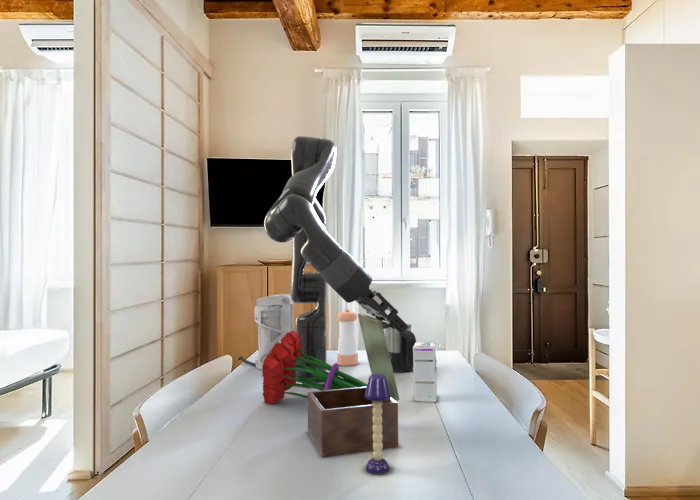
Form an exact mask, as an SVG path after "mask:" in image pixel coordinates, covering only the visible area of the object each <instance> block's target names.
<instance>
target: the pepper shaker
mask: <svg viewBox="0 0 700 500" xmlns="http://www.w3.org/2000/svg"><path fill="white" fill-rule="evenodd" d="M336 317H337V318H336V319H337V320H338V321H339V336H338V342H337V349H338V352H337V354H336V355H337V356H336V357H337V364H338V365H339V366H344V367H347V366H348V367H350V366H356V365H358V364H359V354H358V352H357V351H358V350H357V349H358V343H357V337H356V336H357V335H356V321H357V319H358V314H357V313H356V312H354V311H350V309H349V308H346V309H345V310H344V311H340V312H339V313H338V314H337V316H336Z"/></svg>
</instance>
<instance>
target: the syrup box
mask: <svg viewBox="0 0 700 500" xmlns="http://www.w3.org/2000/svg"><path fill="white" fill-rule="evenodd" d="M436 354H437V353H436V343H435V342H430V341H429V342H427V341H426V342H425V341H421V342H416V343H415V344H414V346H413V369H412V370H413V394H414V395H413V397H414V398H413V399H414V401H415V402H423V403H436V402H437V399H438V384H437V383H438V382H437V362H436V360H437V355H436Z"/></svg>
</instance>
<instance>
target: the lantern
mask: <svg viewBox="0 0 700 500" xmlns="http://www.w3.org/2000/svg"><path fill="white" fill-rule="evenodd" d="M254 322H255V323H256V324H257V331H258V332H257V335H258V337H257V338H258V339H257V341H258V352H256V353H255V354H254V362H253V363H255V364H256V366H255V367H256V369H257V370H262V369H263V368H262V366H263V362H264V360H265V358H266V356H267V355H268V354H269V352H270V353H272V352H271V350H272V348H273V347H274V345H275V343H277V341H278V342H279V343H281V339H282V338H283V337H284V336H285V335H286V333H287V332H291V331H294V302H293V301H292V299H291V295H290V293H282V294H274V295H268V296H264V297H259V298H256V305H254ZM290 330H291V331H290ZM277 344H278V343H277ZM269 355H270V354H269Z"/></svg>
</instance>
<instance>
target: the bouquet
mask: <svg viewBox="0 0 700 500" xmlns="http://www.w3.org/2000/svg"><path fill="white" fill-rule="evenodd" d="M290 331H291V330H290ZM277 343H278V344H277ZM277 343H275V345H274V347H273V348H272V350H271V352H272V353H270V352H269V354H270V355H269V354H268V355H267V356H266V358H265V360H264V362H263V366H262V368H263V369H261V370H262V371H261V373H262V374H261V377H262V391H263V392H262V396H263V403H265V404H275V403H277V402H279V401H281V400H283V399H284V398H285V395H291V396H295V397H300V398H304V399H308V395H307V394H302V393H297V392H290V391H288V390H290V389H292V388H293V387H305V388H307V387H308V388H312V389H314V390H317V391H323V390H334V389H345V388H355V387H366V386H367V384H368V383H366V382H364V381H362V380H361V379H358V378H356V377H354V376H352V375H351V374H347V373H345V372H344V371H341V370H340V365H338V363H333V364H332V365H331V364H329V363H328V362H327V363H326V362H324V361H321V360H319V359H316V358H313V357H310V356H307V355H305V354H304V353H303V351H301V348H302V346H301V337H300V335H298V334H297V333H296V330H292V331H291V332H287V333H286V335H285V336H284V337H283V338H282V339H281V343H279V342H278V341H277ZM301 356H303V357H305V359H300V357H301ZM308 358H309V359H311V360H309V359H308ZM298 360H299V361H304V362H308V363H309V364H310V365H311V366H312V367H308V366H305V365H303V364H302V363H301V362H299V361H298ZM312 360H314V361H312ZM296 362H298V363H299V364H300V365H297V364H296ZM313 364H316V365H319V366H321V367H322V368H324V369H326V370H327V372H326V371H324V370H321V369H319V368H315V366H314V365H313ZM294 367H301V368H305V369H298V368H294ZM294 371H301V372H308V373H311V374H312V375H313V376H314V377H315V378H304V377H301V376H298V375H295V373H296V372H295V373H294ZM294 376H295V377H298V378H300V379H296V378H295V377H294ZM295 381H297V382H299V383H302V384H295ZM303 381H306V382H308V383H310V384H308V383H306V382H303ZM313 381H320V382H324V383H326V384H324V385H321V384H317V383H315V382H313Z"/></svg>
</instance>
